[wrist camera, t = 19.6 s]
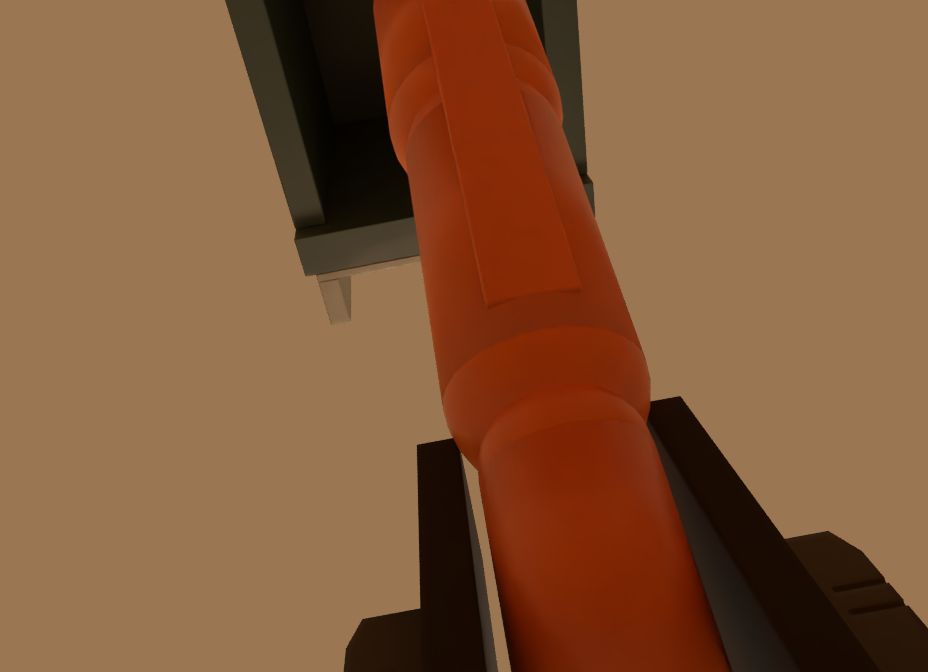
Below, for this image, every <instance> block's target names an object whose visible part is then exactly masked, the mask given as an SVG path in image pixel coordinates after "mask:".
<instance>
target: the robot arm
mask: <svg viewBox="0 0 928 672" xmlns="http://www.w3.org/2000/svg"><path fill="white" fill-rule="evenodd" d="M646 425H647V427H648V430H649V432H650V434H651V436H652V438H653V440H654V442H655V445H656V448H657V451H658V453H659V456H660V459H661V462H662V465H663V468H664V471H665V474H666V477H667V480H668V483H669V486H670V489H671V492H672V495H673V498H674V501H675V503H676V506H677V509H678V512H679V515H680V518H681V521H682V524H683V527H684V530H685V533H686V536H687V539H688V542H689V545H690V548H691V551H692V553H693V556H694V559H695V562H696V565H697V568H698V571H699V574H700V577H701V580H702V583H703V586H704V589H705V592H706V595H707V598H708V601H709V603H710V606H711V609H712V612H713V615H714V618H715V621H716V624H717V627H718V630H719V633H720V636H721V639H722V642H723V645H724V648H725V651H726V653H727V656H728V659H729V662H730V665H731V668H732V671H733V672H928V628H927V627H926V626H925V624H924V623H923V622H922V621H921V620H920V618H919V617H918V616H917V615H916V614H915V613H914V612H913V610H912V609H911V608H910V607H909V606H905V604H904V601H903V599H902V598H901V596H900V595H899V594H898V593H897V592H896V591H895V589H894V588H893V587H892V586H891V585H890V584H889V583H886V582H885V578H884V577H883V576H882V574H881V573H880V572H879V571H878V570H877V568H876V567H875V566H874V565H873V564H872V563H871V561H870V560H869V559H868V558H867V557H866V556H865V554H864V553H863V552H862V551H861V550H859V549H857V548H856V547H854V546H852V545H850V544H849V543H847V542H846V541H844V540H842V539H841V538H839V537H837V536H836V535H834V534H832V533H830V532H829V531H825V532H821V533H815V534H809V535H804V536H798V537H793V538H788V539H784V538H783V536H782V535H781V534H780V532H779V531H778V529H777V528H776V527H775V525H774V524H773V523H772V522H771V520H770V519H769V517H768V516H767V515H766V513H765V512H764V510H763V509H762V508H761V506H760V505H759V503H758V502H757V501H756V499H755V498H754V497H753V495H752V494H751V492H750V491H749V490H748V488H747V487H746V486H745V484H744V483H743V481H742V480H741V479H740V477H739V476H738V475H737V473H736V472H735V470H734V469H733V468H732V467H731V465H730V464H729V462H728V461H727V459H726V458H725V457H724V455H723V454H722V453H721V451H720V450H719V449H718V447H717V446H716V444H715V443H714V442H713V440H712V439H711V438H710V436H709V435H708V433H707V432H706V431H705V429H704V428H703V427H702V425H701V424H700V422H699V421H698V420H697V418H696V417H695V416H694V415H693V413H692V412H691V410H690V409H689V407H688V406H687V405H686V403H685V402H684V401H683V399H682V398H681V397H680V396H678V397H673V398H667V399H662V400H657V401H651V402H650V411H649V415H648V419H647V423H646ZM417 469H418V516H419V560H420V561H419V562H420V607H421V608H420V609H415V610H409V611H404V612H399V613H393V614H388V615H382V616H377V617H372V618H366V619H362V621H361V623H360V625H359V626H358V628H357V630H356V632H355V634H354V636H353V637H352V639H351V641H350V642H349V644H348V646H347V648H346V655H345V664H344V672H498V668H497V661H496V654H495V646H494V639H493V633H492V625H491V618H490V611H489V604H488V597H487V590H486V582H485V576H484V568H483V561H482V554H481V550H480V545H479V539H478V534H477V529H476V525H475V520H474V515H473V510H472V505H471V500H470V496H469V490H468V485H467V480H466V475H465V470H464V465H463V460H462V455H461V452H460V450H459V448H458V446H457V444H456V442H455V441H454V439H453V438H451V439H446V440H441V441H435V442H430V443H425V444H419V445H417Z"/></svg>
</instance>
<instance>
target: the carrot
mask: <svg viewBox="0 0 928 672" xmlns="http://www.w3.org/2000/svg"><path fill="white" fill-rule="evenodd" d="M373 13H374V20H375V28H376V35H377V42H378V50H379V57H380V65H381V72H382V80H383V87H384V94H385V102H386V109H387V117H388V124H389V131H390V137H391V141H392V144H393V147H394V150H395V153H396V156H397V159H398V160H399V162H400V164H401V165H402V167H403V168H404V170H405V171H406V173H407V174H408V178H409V185H410V192H411V198H412V205H413V212H414V218H415V225H416V232H417V238H418V245H419V252H420V258H421V265H422V272H423V277H424V285H425V291H426V298H427V305H428V311H429V318H430V325H431V332H432V338H433V345H434V352H435V358H436V365H437V372H438V378H439V384H440V391H441V398H442V404H443V411H444V414H445V418H446V422H447V425H448V428H449V430H450V433H451V435H452V437H453V439H454V441H455V442H456V444H457V446H458V448H459V450H460V452H461V453H462V454H463V455H464V456H465V457H466V458H467V460H468V461H469V462H470V463H471V464H472V465H473V466H474V467H475V468H476V469H477V470H478V475H479V486H480V492H481V498H482V504H483V509H484V515H485V521H486V527H487V532H488V538H489V544H490V549H491V556H492V561H493V568H494V573H495V579H496V585H497V591H498V597H499V602H500V607H501V614H502V620H503V626H504V631H505V637H506V643H507V648H508V655H509V660H510V665H511V672H733V671H732V668H731V665H730V662H729V659H728V656H727V653H726V651H725V648H724V645H723V642H722V639H721V636H720V633H719V630H718V627H717V624H716V621H715V618H714V615H713V612H712V609H711V606H710V603H709V601H708V598H707V595H706V592H705V589H704V586H703V583H702V580H701V577H700V574H699V571H698V568H697V565H696V562H695V559H694V556H693V553H692V551H691V548H690V545H689V542H688V539H687V536H686V533H685V530H684V527H683V524H682V521H681V518H680V515H679V512H678V509H677V506H676V503H675V501H674V498H673V495H672V492H671V489H670V486H669V483H668V480H667V477H666V474H665V471H664V468H663V465H662V462H661V459H660V456H659V453H658V451H657V448H656V445H655V442H654V440H653V438H652V436H651V434H650V432H649V430H648V427H647V425H646V423H647V419H648V415H649V411H650V376H649V372H648V367H647V363H646V359H645V356H644V354H643V351H642V348H641V345H640V342H639V339H638V337H637V334H636V331H635V328H634V326H633V323H632V320H631V317H630V314H629V312H628V309H627V306H626V303H625V300H624V298H623V295H622V292H621V289H620V287H619V284H618V281H617V278H616V276H615V273H614V270H613V267H612V264H611V262H610V259H609V256H608V253H607V250H606V248H605V245H604V242H603V240H602V237H601V234H600V231H599V228H598V225H597V222H596V220H595V217H594V214H593V211H592V209H591V206H590V203H589V200H588V197H587V195H586V192H585V189H584V186H583V183H582V181H581V178H580V175H579V172H578V170H577V167H576V164H575V161H574V158H573V156H572V153H571V150H570V147H569V144H568V142H567V139H566V136H565V133H564V131H563V128H562V121H563V112H562V103H561V98H560V93H559V89H558V86H557V83H556V81H555V78H554V75H553V73H552V70H551V67H550V65H549V62H548V59H547V56H546V54H545V51H544V48H543V46H542V43H541V40H540V38H539V35H538V32H537V30H536V27H535V24H534V22H533V19H532V16H531V14H530V11H529V8H528V5H527V3H526V0H374V2H373Z"/></svg>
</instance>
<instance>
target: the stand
mask: <svg viewBox="0 0 928 672" xmlns="http://www.w3.org/2000/svg"><path fill="white" fill-rule="evenodd" d="M225 1H226V4H227V8H228V11H229V14H230V18H231V21H232V24H233V28H234V31H235V34H236V37H237V40H238V44H239V47H240V50H241V53H242V57H243V60H244V63H245V67H246V70H247V73H248V76H249V80H250V83H251V86H252V89H253V93H254V96H255V99H256V102H257V106H258V109H259V112H260V116H261V119H262V122H263V125H264V129H265V132H266V135H267V138H268V141H269V145H270V148H271V151H272V155H273V158H274V161H275V164H276V167H277V171H278V174H279V178H280V181H281V184H282V187H283V191H284V194H285V197H286V200H287V204H288V207H289V210H290V213H291V217H292V220H293V223H294V226H295V228H296V233H295V239H294V240H295V244H296V247H297V250H298V253H299V257H300V260H301V263H302V266H303V270H304V273H305V276H311V275H316V276H317V280H318V282H319V286H320V289H321V293H322V296H323V299H324V303H325V306H326V309H327V313H328V316H329V319H330V322H331V325H334V324H339V323H344V322H349V321H351V276H352V275H357V274H362V273H367V272H372V271H378V270H382V269H388V268H393V267H398V266H403V265H408V264H414V263H419V262H421V258H420V252H419V245H418V238H417V232H416V225H415V218H414V212H413V205H412V198H411V192H410V185H409V178H408V174H407V173H406V171H405V170H404V168H403V167H402V165H401V164H400V162H399V160H398V159H397V156H396V153H395V150H394V147H393V144H392V141H391V137H390V131H389V124H388V117H387V109H386V102H385V94H384V87H383V80H382V72H381V65H380V57H379V50H378V42H377V35H376V28H375V20H374V13H373V2H374V0H225ZM526 3H527V5H528V8H529V11H530V14H531V16H532V19H533V22H534V24H535V27H536V30H537V32H538V35H539V38H540V40H541V43H542V46H543V48H544V51H545V54H546V56H547V59H548V62H549V65H550V67H551V70H552V73H553V75H554V78H555V81H556V83H557V86H558V89H559V93H560V98H561V103H562V112H563V121H562V128H563V131H564V133H565V136H566V139H567V142H568V144H569V147H570V150H571V153H572V156H573V158H574V161H575V164H576V167H577V170H578V172H579V175H580V178H581V181H582V183H583V186H584V189H585V192H586V195H587V197H588V200H589V203H590V206H591V209H592V211H593V214H594V217H595V207H594V191H593V182H592V180H591V179H590V178H589V176H588V175H587V161H586V143H585V127H584V111H583V95H582V79H581V65H580V64H581V63H580V47H579V31H578V16H577V0H526Z"/></svg>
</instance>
